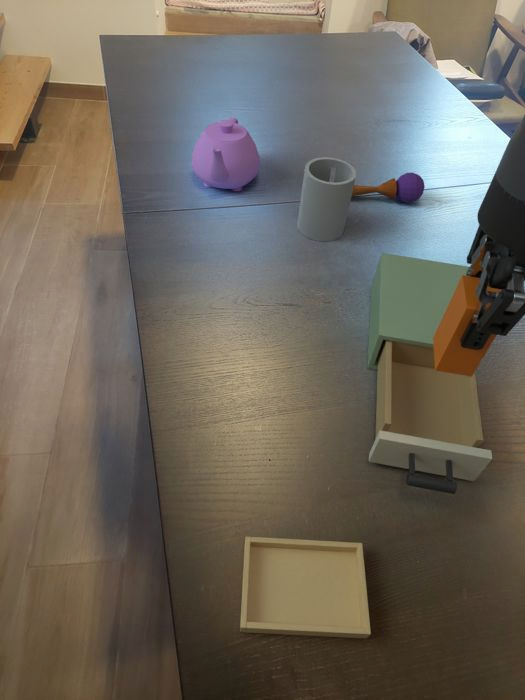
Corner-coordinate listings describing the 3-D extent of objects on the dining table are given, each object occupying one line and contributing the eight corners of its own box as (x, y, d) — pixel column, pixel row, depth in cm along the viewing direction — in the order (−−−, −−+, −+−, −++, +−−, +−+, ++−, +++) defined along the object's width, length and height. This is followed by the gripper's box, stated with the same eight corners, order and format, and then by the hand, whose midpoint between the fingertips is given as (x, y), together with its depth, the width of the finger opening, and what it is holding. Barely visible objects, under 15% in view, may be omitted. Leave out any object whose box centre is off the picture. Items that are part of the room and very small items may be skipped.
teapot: (249, 212, 101) (252, 154, 92) (179, 202, 102) (175, 144, 92) (265, 161, 114) (269, 106, 105) (203, 153, 115) (201, 97, 105)
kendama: (325, 172, 105) (421, 167, 106) (324, 200, 109) (416, 195, 109) (330, 182, 100) (430, 178, 101) (328, 211, 104) (425, 206, 105)
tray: (358, 549, 59) (362, 542, 57) (366, 638, 53) (371, 634, 51) (244, 542, 58) (245, 536, 57) (239, 632, 52) (240, 627, 51)
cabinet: (464, 385, 76) (485, 352, 70) (367, 368, 77) (379, 334, 71) (455, 301, 88) (472, 266, 82) (371, 287, 89) (381, 252, 83)
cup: (303, 243, 96) (312, 185, 86) (292, 214, 101) (299, 158, 92) (349, 239, 97) (363, 183, 88) (336, 212, 103) (347, 156, 94)
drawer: (477, 512, 62) (497, 491, 57) (367, 492, 63) (378, 469, 58) (462, 374, 76) (477, 349, 71) (372, 359, 77) (381, 333, 72)
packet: (471, 376, 55) (509, 314, 48) (435, 370, 56) (466, 308, 49) (467, 343, 59) (501, 281, 52) (432, 337, 59) (462, 274, 52)
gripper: (618, 240, 36) (513, 386, 49) (572, 145, 45) (494, 288, 58) (510, 223, 36) (434, 372, 49) (486, 133, 46) (428, 277, 59)
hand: (467, 326), depth 54 cm, fingers closed on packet, 5 cm apart
